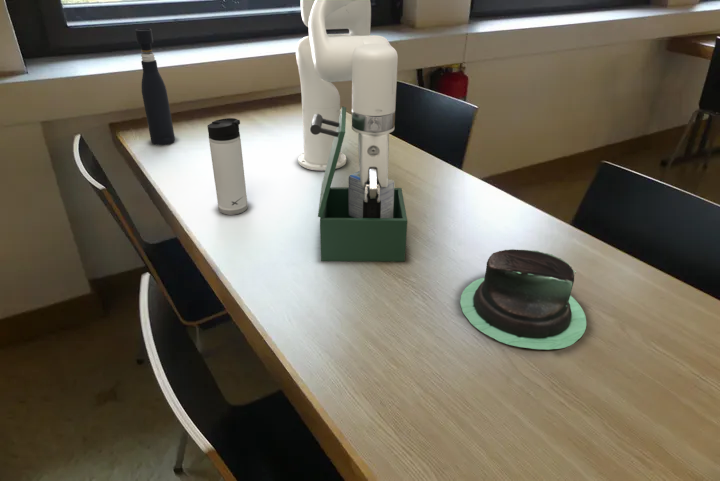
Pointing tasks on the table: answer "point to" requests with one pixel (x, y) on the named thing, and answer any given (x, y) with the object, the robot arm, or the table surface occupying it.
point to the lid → (334, 152)
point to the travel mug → (228, 165)
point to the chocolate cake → (525, 301)
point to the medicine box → (359, 195)
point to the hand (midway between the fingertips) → (370, 208)
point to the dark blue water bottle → (154, 93)
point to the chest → (361, 231)
